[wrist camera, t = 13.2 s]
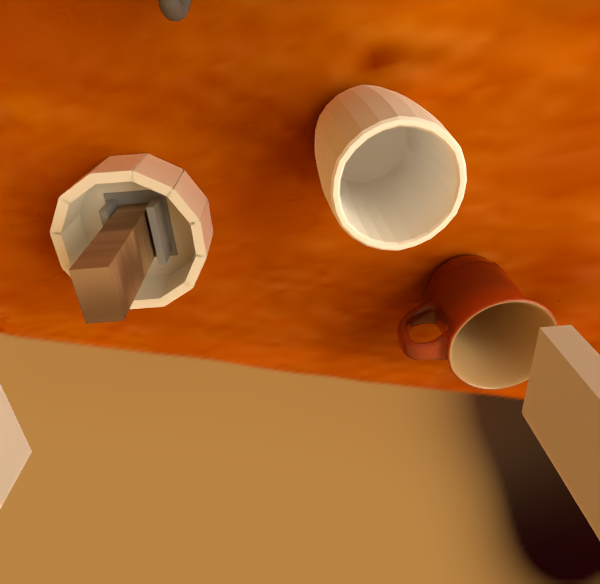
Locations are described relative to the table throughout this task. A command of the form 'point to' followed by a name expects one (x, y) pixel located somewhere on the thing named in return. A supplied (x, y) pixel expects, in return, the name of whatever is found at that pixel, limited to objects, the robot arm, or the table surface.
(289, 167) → the table surface
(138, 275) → the tall brown wooden block
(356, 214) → the cup
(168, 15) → the mug
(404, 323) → the mug
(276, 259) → the table surface
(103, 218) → the white round bowl
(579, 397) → the robot arm
